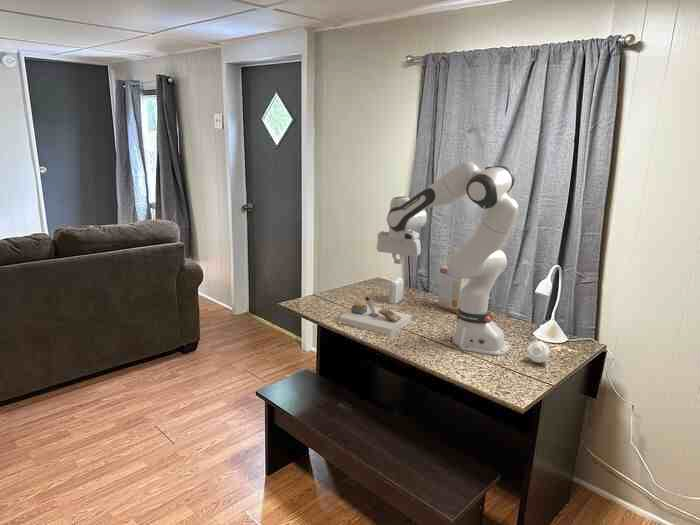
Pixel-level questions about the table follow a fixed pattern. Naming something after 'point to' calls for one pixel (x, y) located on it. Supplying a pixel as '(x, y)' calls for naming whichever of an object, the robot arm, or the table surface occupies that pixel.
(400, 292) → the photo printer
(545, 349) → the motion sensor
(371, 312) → the toggle lever
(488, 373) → the table surface
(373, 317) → the switch panel
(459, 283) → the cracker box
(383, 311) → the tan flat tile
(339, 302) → the table surface
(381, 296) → the table surface
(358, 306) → the push button
